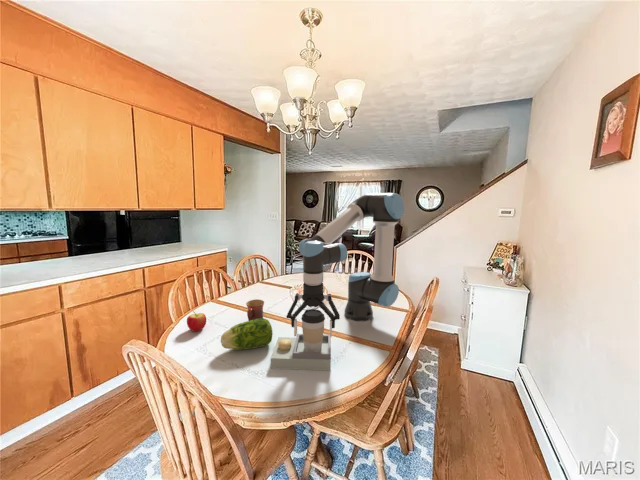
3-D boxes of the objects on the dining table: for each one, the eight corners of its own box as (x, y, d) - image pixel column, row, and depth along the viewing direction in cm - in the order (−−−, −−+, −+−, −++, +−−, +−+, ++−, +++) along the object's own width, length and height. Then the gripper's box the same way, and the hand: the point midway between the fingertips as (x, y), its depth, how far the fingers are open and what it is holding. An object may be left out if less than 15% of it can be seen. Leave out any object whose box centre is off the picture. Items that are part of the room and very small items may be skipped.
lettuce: (219, 346, 111) (218, 321, 109) (267, 335, 120) (267, 312, 119) (223, 361, 101) (221, 334, 99) (275, 348, 110) (275, 323, 108)
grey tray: (330, 347, 111) (330, 334, 110) (330, 370, 96) (330, 355, 95) (278, 345, 112) (278, 332, 111) (270, 368, 97) (270, 353, 96)
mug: (251, 317, 139) (251, 298, 137) (267, 319, 137) (266, 300, 135) (240, 328, 127) (239, 307, 125) (257, 330, 125) (256, 309, 124)
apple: (183, 332, 122) (181, 312, 121) (197, 324, 130) (196, 305, 129) (197, 335, 120) (195, 314, 118) (210, 327, 128) (209, 307, 126)
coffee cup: (327, 344, 106) (328, 308, 104) (320, 356, 98) (320, 318, 95) (306, 340, 109) (306, 305, 107) (297, 352, 101) (297, 314, 98)
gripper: (346, 279, 103) (344, 331, 106) (282, 278, 104) (282, 329, 107) (347, 286, 95) (345, 341, 98) (278, 285, 96) (279, 339, 99)
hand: (313, 335), depth 103 cm, fingers open, 13 cm apart
